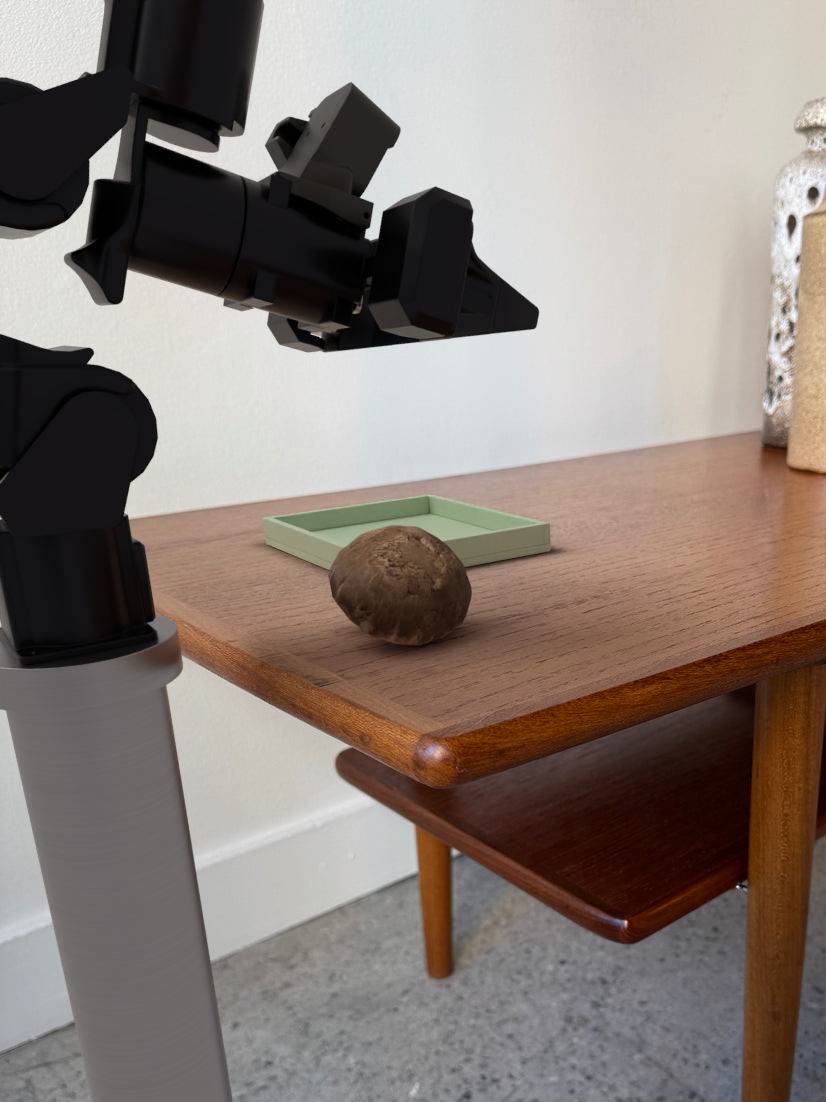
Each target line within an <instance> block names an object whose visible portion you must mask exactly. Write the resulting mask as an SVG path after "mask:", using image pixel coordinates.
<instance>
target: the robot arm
mask: <svg viewBox="0 0 826 1102" xmlns="http://www.w3.org/2000/svg"><path fill="white" fill-rule="evenodd" d="M103 2H104V5H103V15H102V16H103V17H102V24H101V33H100V40H99V48H98V56H97V64H96V69H95V73H91V72H88V71H84V72H83V73H82V74H80V75H79V77H78V78H76V79H73V80H70V81H68V82H65V83H62V84H59V85H56V86H53V87H50V88H46V89H42V88H40V87H38V86H36V85H34V84H32V83H29V82H27V81H22V80H19V79H15V78H10V77H7V76H6V77H5V76H3V77H1V76H0V239H4V240H13V241H14V240H20V239H28V238H33V237H35V236H37V235H40V234H42V233H45V232H47V231H49V230H51V229H53V228H55V227H58V226H60V225H62V224H64V223H66V222H67V221H68V220H70V219H71V217H72V216H73V215H74V214H75V213H76V211H78V209H79V208H80V207H81V206H82V205H83V202H84V200H85V197H86V194H87V191H88V189H89V186H90V170H91V169H90V166H91V165H90V160H91V159H92V157H94V156H95V155H96V154H97V153H98V152H99V151H100V150H101V149H102V148H103V147H104V146H105V145H106V144H107V143H108V142H109V141H111V139H113V138H114V137H115V135H116V134H118V133H119V132H120V137H119V138H120V139H119V145H118V151H117V158H116V163H115V169H114V173H113V176H112V178H96V179H95V180H93V184H92V191H91V198H90V205H89V206H90V207H89V213H88V222H87V228H86V229H87V230H86V235H85V243H84V244H83V245H82V246H80V247H79V248H77V249H75V250H72V251H70V252H67V253H65V254H64V255H63V262H64V264H65V265H67V266H68V267H69V268H70V270H72V271H73V272H74V273H75V274H76V275H77V276H78V277H79V279H80V280H81V281H82V283H83V284H84V287H85V288H86V290H87V291H88V293H89V295H90V297H91V299H92V301H93V302H94V304H96V305H97V306H101V307H103V306H104V307H105V306H116V305H120V304H121V303H122V302H123V301H124V299H125V298H124V297H125V291H126V290H125V289H126V282H127V277H128V276H127V275H128V271H130V272H133V273H134V272H135V273H137V274H141V275H144V276H147V277H151V278H153V279H157V280H160V281H164V282H167V283H170V284H174V285H177V286H180V287H184V288H187V289H189V290H190V289H191V290H194V291H196V292H197V291H198V292H200V293H204V294H208V295H210V296H214V297H217V298H220V299H222V300H223V304H222V306H223V307H225V308H229V309H232V310H236V311H239V312H245V311H251V310H254V309H257V310H260V311H264V312H266V313H268V315H267V322H266V326H267V327H268V329H269V331H270V332H271V334H272V336H273V337H274V339H275V341H276V342H277V343H278V345H279V346H283V347H285V348H290V349H293V350H296V351H301V352H304V353H308V354H309V353H317V352H322V353H335V352H345V351H353V350H354V351H355V350H364V349H371V348H382V347H389V346H391V347H392V346H398V345H407V344H416V343H425V342H434V341H444V340H453V339H460V338H469V337H476V336H485V335H486V336H487V335H493V334H494V335H496V334H503V333H512V332H513V333H514V332H523V331H532V330H535V329H536V328H537V326H538V322H539V317H540V309H539V307H538V306H537V305H535V304H534V303H533V302H532V301H530V299H528V298H527V297H526V296H524V295H523V294H522V293H521V292H519V291H518V290H517V289H516V288H515V287H513V286H512V285H511V284H510V283H508V282H507V281H506V280H505V279H503V278H502V277H501V276H500V275H499V274H497V273H496V272H495V271H494V270H493V269H492V268H490V267H489V266H488V265H487V264H486V263H485V262H484V261H483V260H482V258H480V257H479V255H478V254H477V252H476V249H475V245H474V242H473V238H474V233H475V232H474V229H475V228H474V227H475V226H474V222H473V216H474V208H473V205H472V202H471V200H470V199H468V198H466V197H463V196H461V195H458V194H456V193H453V192H451V191H448V190H447V189H446V190H445V189H443V188H440V187H438V186H432V187H430V188H427V189H424V190H422V191H419V192H416V193H414V194H411V195H408V196H406V197H403V198H401V199H399V200H398V201H397V202H395V203H393V204H392V205H390V206H389V207H387V208H385V209H384V210H383V211H382V213H381V219H380V225H379V233H378V237H377V238H374V239H369V238H368V237H366V233H367V230H368V229H370V228H371V224H372V217H373V212H374V206H375V203H374V202H372V201H370V200H367V199H364V198H362V196H363V194H364V193H365V192H366V190H367V189H368V187H369V184H370V183H371V181H372V179H373V177H374V175H375V174H376V172H377V170H378V168H379V166H380V164H381V162H382V161H383V159H384V157H385V155H386V153H387V152H388V150H389V149H393V148H394V147H395V146H396V143H397V142H398V140H399V137H400V135H401V132H402V131H401V126H400V125H399V124H397V122H395V121H394V119H392V118H391V117H390V116H389V115H388V114H387V113H386V112H385V111H383V110H382V108H380V107H379V106H378V105H377V104H376V103H375V102H374V101H373V100H372V99H371V98H369V97H368V96H367V95H366V93H364V92H363V91H362V90H361V89H360V88H359V87H358V86H357V85H355V83H354V82H352V81H350V82H348V83H346V84H344V85H343V86H341V87H340V88H338V89H337V90H335V91H333V92H331V93H330V94H329V95H327V96H325V97H324V98H323V99H322V100H321V101H320V103H319V104H318V105H317V107H315V108H313V109H312V110H310V112H309V114H308V116H307V118H309V119H308V120H306V119H305V120H304V119H301V118H299V117H298V118H297V117H294V116H287V117H285V118H284V119H282V120H280V121H278V122H277V123H276V124H275V126H274V127H273V129H272V131H271V133H270V135H269V137H268V138H267V140H266V142H265V144H264V147H265V149H266V151H267V153H268V155H269V157H270V159H271V160H272V163H273V164H274V166H275V168H276V170H277V171H274V172H273V173H271V174H269V175H267V176H266V177H263V178H262V179H260V180H258V181H257V180H254V179H252V178H249V177H246V176H244V175H240V174H237V173H235V172H232V171H230V170H227V169H225V168H222V167H219V166H216V165H213V164H212V163H211V164H210V163H208V162H205V161H202V160H200V159H197V158H194V157H191V156H189V155H186V154H183V153H181V152H178V151H175V150H172V149H170V148H167V147H164V146H162V145H159V144H157V143H154V142H152V141H149V140H146V139H147V135H149V136H152V137H154V138H156V139H158V140H159V141H160V140H161V141H163V142H166V143H168V144H171V145H174V146H177V147H179V148H183V149H187V150H191V151H193V152H194V151H195V152H199V153H207V154H208V153H209V154H214V153H218V152H219V151H220V146H221V141H222V139H221V138H222V137H223V138H237V137H242V136H243V135H244V133H245V130H246V124H247V117H248V111H249V106H250V99H251V93H252V92H251V91H252V85H253V80H254V73H255V67H256V61H257V56H258V55H257V54H258V49H259V44H260V43H259V42H260V36H261V29H262V23H263V17H264V10H265V1H264V0H103ZM94 355H95V350H94V349H93V348H92V347H89V346H88V347H87V346H76V345H75V346H74V345H66V344H65V345H59V346H55V347H54V346H53V347H50V348H45V347H41V346H38V345H35V344H33V343H32V344H31V343H30V342H27V341H23V340H20V339H17V338H14V337H11V336H9V335H6V334H2V333H0V642H1V643H2V644H3V645H4V647H5V648H6V649H7V650H8V651H9V653H10V654H11V655H12V656H13V658H14V659H15V660H16V661H17V663H18V664H19V665H23V666H27V665H34V664H39V663H45V662H50V661H55V660H60V659H65V658H70V657H75V656H81V655H86V654H91V653H96V652H101V651H106V650H111V649H117V648H122V647H127V646H132V645H137V644H142V643H147V642H152V641H155V640H157V639H158V634H157V630H156V629H155V628H153V627H152V626H151V625H149V624H148V623H149V622H153V621H154V619H155V618H156V615H157V614H156V609H155V603H154V596H153V590H152V584H151V576H150V571H149V566H148V559H147V553H146V547H145V544H144V543H143V542H141V541H140V540H138V539H137V538H135V537H133V535H132V530H131V524H130V518H129V514H127V513H126V512H125V511H126V507H127V502H128V497H129V492H130V487H131V483H133V482H134V481H135V480H136V479H138V478H139V477H140V476H141V475H142V474H144V473H145V471H146V469H147V468H148V467H149V465H150V463H151V462H152V460H153V459H154V456H155V453H156V448H157V443H158V439H159V433H158V432H159V431H158V423H157V420H158V419H157V417H156V415H155V412H154V409H153V407H152V404H151V402H150V399H149V398H148V397H147V395H146V394H145V393H144V392H143V391H142V389H141V388H140V387H139V386H138V385H137V384H136V382H134V380H133V379H132V378H130V377H129V376H127V375H125V374H124V373H122V372H121V371H119V370H115V369H113V368H112V369H111V368H109V367H105V366H103V365H100V364H94V363H89V362H90V361H91V360H92V358H93V357H94Z"/></svg>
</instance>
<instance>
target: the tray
mask: <svg viewBox="0 0 826 1102" xmlns="http://www.w3.org/2000/svg"><path fill="white" fill-rule="evenodd" d="M262 521H263V522H262V523H263V530H264V538H265V545H267V546H270V547H272V548H275V549H277V550H280V551H282V552H284V553H287V554H289V555H291V556H294V557H296V558H298V559H301V560H303V561H306V562H309V563H310V564H313V565H316V566H318V567H320V568H323V569H325V570H328V571H330V568H331V566H332V564H333V562H334V560H335V559H336V557H337V555H338V553H339V551H340V550H342V549H343V548H344V547H346V546H347V545H348V544H349V543H351V542H352V541H353V540H354V539H356V538H357V537H358V536H359V535H360V534H363V533H365V532H368V531H372V530H375V529H379V528H383V527H386V526H390V525H401V526H416V527H420V528H421V529H423V530H425V531H427V532H429V533H430V534H432V535H434V536H436V537H438V538H439V539H440V540H441V541H442V542H444V543H445V544H446V545H447V546H449V547H450V549H451V550H452V551H453V552H454V553H455V555H456V556H457V557H458V558H459V559H460V561H461V562H462V563H463V565H464V568H467V567H473V566H479V565H483V564H489V563H495V562H501V561H505V560H512V559H516V558H520V557H526V556H533V555H537V554H544V553H549V552H551V549H552V548H551V547H552V546H551V523H550V522H547V521H543V520H539V519H534V518H531V517H526V516H522V515H519V514H518V515H517V514H514V513H510V512H506V511H503V510H497V509H493V508H489V507H485V506H481V505H477V504H473V503H469V502H464V501H461V500H456V499H452V498H447V497H444V496H440V495H435V494H431V493H430V494H422V495H416V496H415V495H414V496H408V497H402V498H395V499H387V500H381V501H379V500H378V501H372V502H366V503H358V504H352V505H344V506H337V507H330V508H323V509H315V510H309V511H301V512H295V513H294V512H293V513H287V514H279V515H272V516H265V517H262Z"/></svg>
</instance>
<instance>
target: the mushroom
mask: <svg viewBox="0 0 826 1102" xmlns="http://www.w3.org/2000/svg"><path fill="white" fill-rule="evenodd" d="M327 577H328V581H329V586H330V592H331V597H332V599H333V600H334V602H335V603H336V605H337V606H338V607H339V609H340V610H341V611H342V613H344V614H345V616H346V617H347V619H348V620H349V621H350V622H351V623H353V624H354V625H356V627H358V628H360V629H361V630H362V631H364V632H365V633H366V634H368V635H369V636H370V637H373V638H375V639H379V640H383V641H385V642H388V643H392V644H394V645H405V646H415V647H419V646H423V645H425V644H428V643H431V642H435V641H437V640H440V639H443V638H444V637H446V636H447V635H449V634H450V633H452V632H453V631H454V630H455V629H457V628H459V627H460V626H461V625H463V623H464V621H465V620H466V617H467V615H468V611H469V608H470V604H471V601H472V595H473V590H472V584H471V581H470V579H469V576H468V572H467V571H466V567H464V565H463V563H462V562H461V561H460V559H459V558H458V557H457V556H456V555H455V553H454V552H453V551H452V550H451V549H450V547H449V546H447V545H446V544H445V543H444V542H442V541H441V540H440V539H439V538H438V537H436V536H434V535H432V534H430V533H429V532H427V531H425V530H423V529H421V528H420V527H416V526H401V525H390V526H386V527H383V528H379V529H375V530H372V531H368V532H365V533H363V534H360V535H359V536H358V537H357V538H356V539H354V540H353V541H352V542H351V543H349V544H348V545H347V546H346V547H344V548H343V549H342V550H340V551H339V553H338V555H337V557H336V559H335V560H334V562H333V564H332V566H331V568H330V570H328V576H327Z"/></svg>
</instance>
